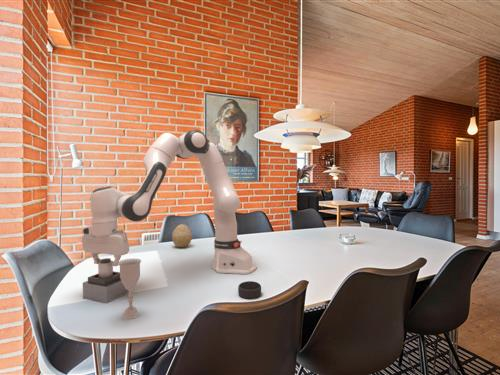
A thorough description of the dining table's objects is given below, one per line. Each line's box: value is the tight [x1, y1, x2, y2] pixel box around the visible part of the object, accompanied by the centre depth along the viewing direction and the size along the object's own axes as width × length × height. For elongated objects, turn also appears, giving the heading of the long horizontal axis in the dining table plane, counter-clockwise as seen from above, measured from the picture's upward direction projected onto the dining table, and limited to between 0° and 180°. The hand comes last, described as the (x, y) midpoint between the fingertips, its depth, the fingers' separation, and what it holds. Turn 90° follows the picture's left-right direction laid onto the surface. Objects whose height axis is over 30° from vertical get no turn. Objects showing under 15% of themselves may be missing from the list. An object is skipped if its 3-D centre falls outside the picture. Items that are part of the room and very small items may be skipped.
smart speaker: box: [237, 280, 262, 300], centre depth 109 cm, size 9×9×4 cm
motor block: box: [82, 270, 129, 304], centre depth 110 cm, size 16×10×8 cm, turn 69°
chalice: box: [118, 258, 142, 320], centre depth 93 cm, size 7×7×18 cm
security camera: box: [97, 257, 114, 279], centre depth 109 cm, size 5×5×8 cm
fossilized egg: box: [171, 223, 193, 248], centre depth 183 cm, size 13×13×15 cm
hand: (106, 264), depth 109 cm, fingers open, 8 cm apart
